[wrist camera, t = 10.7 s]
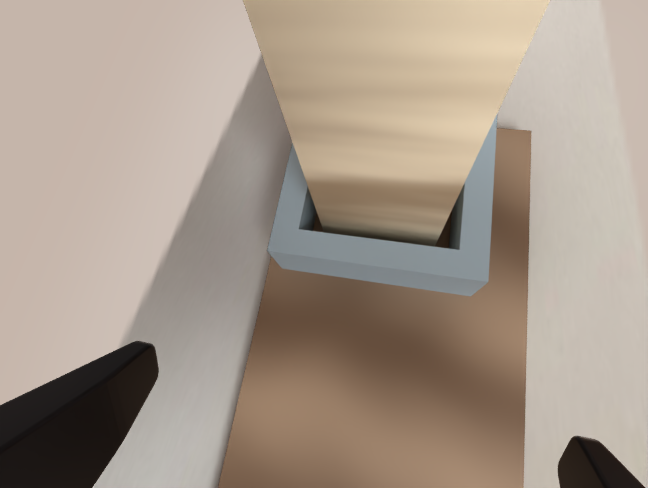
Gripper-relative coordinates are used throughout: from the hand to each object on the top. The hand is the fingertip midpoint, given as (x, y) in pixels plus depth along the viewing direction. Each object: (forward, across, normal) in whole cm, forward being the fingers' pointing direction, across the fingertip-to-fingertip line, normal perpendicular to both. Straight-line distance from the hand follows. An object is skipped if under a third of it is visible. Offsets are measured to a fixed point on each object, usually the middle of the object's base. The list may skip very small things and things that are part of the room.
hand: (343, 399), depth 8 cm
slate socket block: (+11, 0, -1) cm, 11 cm away
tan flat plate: (+6, -1, +5) cm, 8 cm away
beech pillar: (+10, 0, -1) cm, 11 cm away
